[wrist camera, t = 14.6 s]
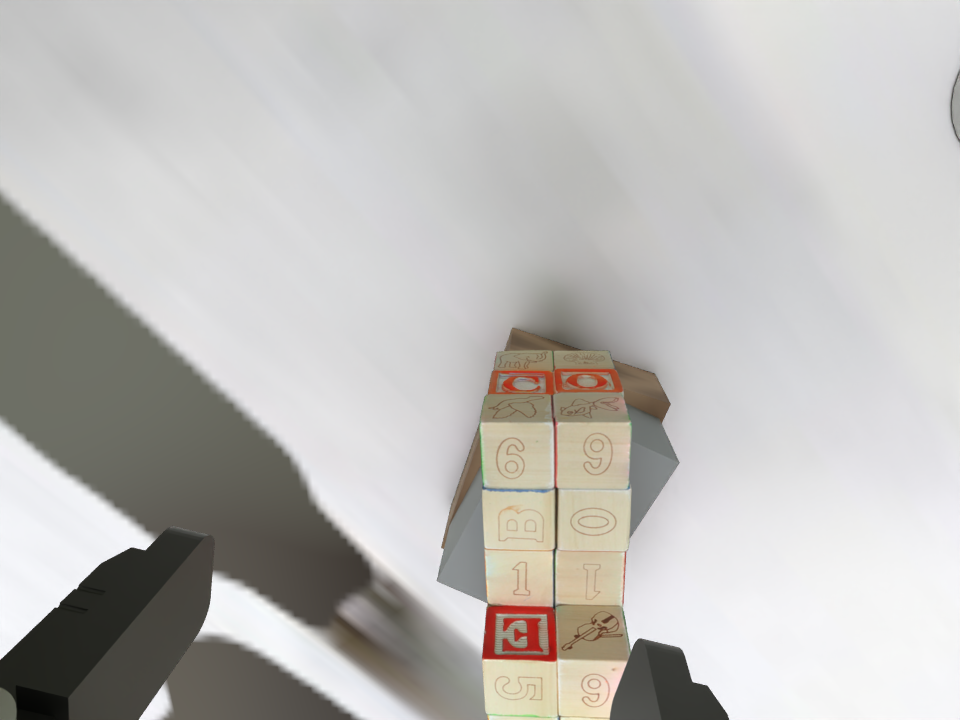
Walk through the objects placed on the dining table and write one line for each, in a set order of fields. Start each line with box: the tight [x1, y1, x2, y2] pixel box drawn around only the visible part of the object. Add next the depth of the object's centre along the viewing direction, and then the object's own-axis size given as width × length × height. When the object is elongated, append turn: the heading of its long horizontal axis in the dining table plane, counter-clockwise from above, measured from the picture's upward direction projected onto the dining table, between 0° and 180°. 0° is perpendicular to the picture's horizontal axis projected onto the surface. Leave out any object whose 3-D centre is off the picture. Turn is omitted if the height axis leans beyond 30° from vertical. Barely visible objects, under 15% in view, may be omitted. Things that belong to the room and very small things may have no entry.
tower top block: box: [437, 403, 679, 603], centre depth 39 cm, size 9×14×6 cm, turn 155°
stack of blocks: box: [479, 350, 632, 720], centre depth 31 cm, size 21×6×12 cm, turn 2°
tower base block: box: [441, 328, 670, 549], centre depth 45 cm, size 11×16×6 cm
